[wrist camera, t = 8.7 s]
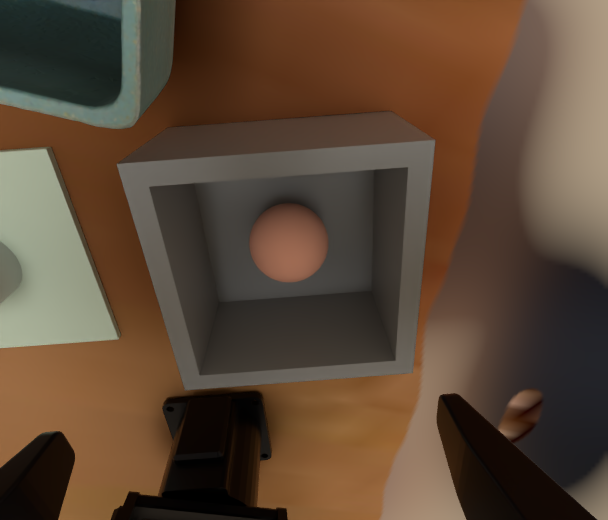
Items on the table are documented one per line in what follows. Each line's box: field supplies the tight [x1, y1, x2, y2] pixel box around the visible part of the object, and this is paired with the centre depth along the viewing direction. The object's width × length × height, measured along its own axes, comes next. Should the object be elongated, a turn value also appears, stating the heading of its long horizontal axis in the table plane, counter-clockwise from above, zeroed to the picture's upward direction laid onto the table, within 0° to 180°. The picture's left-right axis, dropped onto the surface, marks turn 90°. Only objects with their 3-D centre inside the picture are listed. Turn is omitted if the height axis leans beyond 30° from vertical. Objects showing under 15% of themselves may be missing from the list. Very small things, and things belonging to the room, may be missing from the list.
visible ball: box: [249, 203, 329, 282], centre depth 18 cm, size 4×4×4 cm
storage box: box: [117, 111, 435, 390], centre depth 17 cm, size 10×10×6 cm
